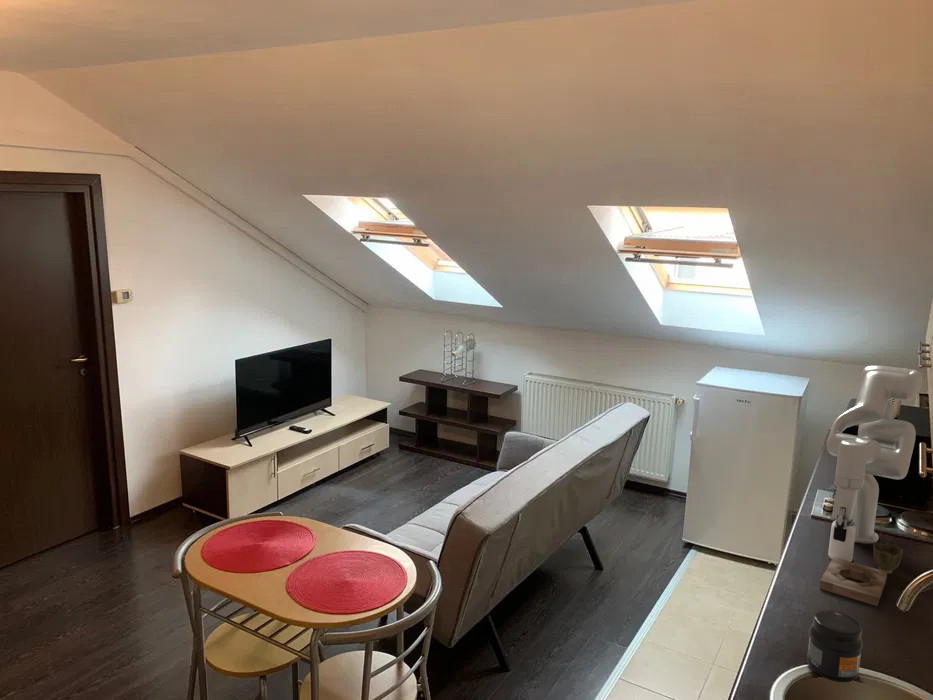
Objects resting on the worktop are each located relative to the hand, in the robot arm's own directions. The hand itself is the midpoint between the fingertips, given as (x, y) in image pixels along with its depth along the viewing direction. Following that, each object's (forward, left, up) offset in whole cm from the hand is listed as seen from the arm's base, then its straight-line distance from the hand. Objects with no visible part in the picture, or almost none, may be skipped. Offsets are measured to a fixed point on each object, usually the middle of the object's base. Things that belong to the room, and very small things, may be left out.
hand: (842, 535), depth 203 cm
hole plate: (+14, +6, -8) cm, 17 cm away
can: (-1, 0, -8) cm, 8 cm away
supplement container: (+61, +9, -8) cm, 62 cm away
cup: (0, +12, -8) cm, 14 cm away
